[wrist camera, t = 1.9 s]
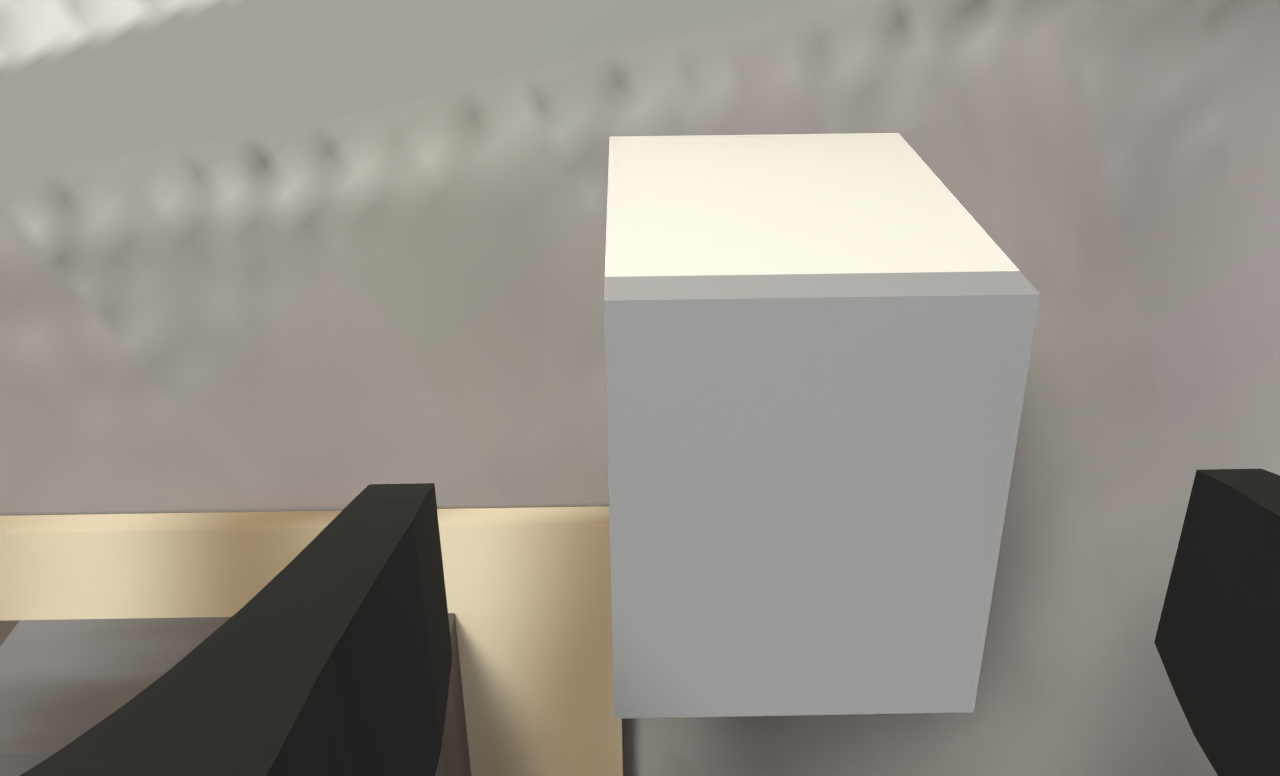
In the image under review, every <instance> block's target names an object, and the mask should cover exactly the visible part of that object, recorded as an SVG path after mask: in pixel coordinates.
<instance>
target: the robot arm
mask: <svg viewBox="0 0 1280 776" xmlns="http://www.w3.org/2000/svg"><path fill="white" fill-rule="evenodd" d="M1155 645H1156V647H1157V649H1158V652H1159V654H1160V657H1161V659H1162V662H1163V664H1164V667H1165V669H1166V672H1167V674H1168V677H1169V679H1170V681H1171V684H1172V686H1173V689H1174V691H1175V694H1176V696H1177V698H1178V700H1179V703H1180V705H1181V707H1182V709H1183V711H1184V714H1185V716H1186V718H1187V720H1188V722H1189V725H1190V727H1191V729H1192V731H1193V733H1194V736H1195V737H1196V739H1197V741H1198V742H1199V744H1200V746H1201V748H1202V749H1203V751H1204V753H1205V754H1206V756H1207V758H1208V760H1209V761H1210V763H1211V765H1212V766H1213V768H1214V770H1215V771H1216V773H1217V775H1218V776H1280V476H1279V475H1276V474H1274V473H1271V472H1268V471H1266V470H1263V469H1220V470H1197V471H1196V475H1195V479H1194V483H1193V488H1192V492H1191V496H1190V500H1189V504H1188V508H1187V512H1186V516H1185V520H1184V524H1183V528H1182V532H1181V536H1180V540H1179V544H1178V549H1177V553H1176V557H1175V561H1174V565H1173V569H1172V573H1171V577H1170V581H1169V585H1168V589H1167V593H1166V597H1165V601H1164V606H1163V610H1162V614H1161V618H1160V622H1159V626H1158V630H1157V634H1156V638H1155ZM451 665H452V646H451V637H450V628H449V618H448V609H447V599H446V590H445V580H444V571H443V562H442V552H441V543H440V533H439V524H438V515H437V505H436V496H435V486H434V483H428V484H372V485H368V486H367V487H366V488H365V489H364V490H363V491H362V492H361V493H360V494H359V495H358V496H357V497H356V498H355V499H354V500H353V501H352V502H351V503H350V504H349V505H348V506H347V507H346V508H344V509H343V510H342V511H341V512H340V513H339V514H338V515H337V516H336V517H335V518H334V519H333V520H332V521H331V522H330V523H329V524H328V525H327V526H326V527H325V528H324V529H323V530H322V531H321V532H320V533H319V534H318V535H317V536H316V537H315V538H314V539H313V540H312V541H311V542H310V543H309V544H308V545H307V546H306V547H305V548H304V549H303V550H302V551H301V552H300V553H299V554H298V555H297V556H296V557H295V558H294V559H293V560H292V561H291V562H290V563H289V564H288V565H287V566H286V567H285V568H284V569H283V570H282V571H281V572H280V573H279V574H277V575H276V576H275V577H274V578H273V579H272V580H271V581H270V582H269V583H268V584H267V585H266V586H265V587H264V588H263V589H262V590H261V591H259V592H258V593H257V594H256V595H255V596H254V597H253V598H252V599H251V600H250V601H249V602H248V603H247V604H246V605H245V606H244V607H243V608H241V609H240V610H239V611H238V612H237V613H236V614H234V615H233V616H232V617H231V618H230V619H228V620H227V621H226V622H225V623H224V624H223V625H221V626H220V627H219V628H218V629H217V630H216V631H214V632H213V633H212V634H211V635H210V636H209V637H207V638H206V639H205V640H204V641H203V642H202V643H200V644H199V645H198V646H197V647H196V648H195V649H193V650H192V651H191V652H190V653H189V654H188V655H186V656H185V657H184V658H183V659H182V660H181V661H179V662H178V663H177V664H176V665H175V666H173V667H172V668H171V669H170V670H169V671H167V672H166V673H165V674H164V675H162V676H161V677H160V678H159V679H157V680H156V681H155V682H153V683H152V684H151V685H150V686H148V687H147V688H146V689H144V690H143V691H142V692H140V693H139V694H138V695H136V696H135V697H134V698H132V699H131V700H130V701H128V702H127V703H126V704H124V705H123V706H122V707H120V708H119V709H118V710H116V711H115V712H113V713H112V714H111V715H109V716H108V717H106V718H105V719H103V720H102V721H101V722H99V723H98V724H96V725H95V726H94V727H92V728H91V729H89V730H88V731H86V732H85V733H84V734H82V735H81V736H79V737H78V738H77V739H75V740H74V741H72V742H71V743H69V744H68V745H67V746H65V747H64V748H62V749H61V750H59V751H58V752H56V753H55V754H53V755H52V756H50V757H49V758H47V759H46V760H44V761H43V762H41V763H39V764H38V765H36V766H34V767H33V768H31V769H30V770H28V771H26V772H25V773H23V774H21V775H20V776H435V774H436V770H437V765H438V761H439V757H440V753H441V747H442V739H443V732H444V724H445V716H446V708H447V700H448V691H449V682H450V673H451Z"/></svg>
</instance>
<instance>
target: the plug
mask: <svg viewBox="0 0 1280 776" xmlns="http://www.w3.org/2000/svg"><path fill="white" fill-rule="evenodd" d="M1039 300H1040V293H1039V292H1038V291H1037V290H1036V289H1035V288H1034V287H1033V285H1032V284H1031V283H1030V282H1029V281H1028V280H1027V279H1026V277H1025V276H1024V275H1023V274H1022V273H1021V272H1020V271H1019V269H1018V268H1017V267H1016V266H1015V265H1014V264H1013V263H1012V262H1011V260H1010V259H1009V258H1008V257H1007V256H1006V255H1005V254H1004V252H1003V251H1002V250H1001V249H1000V248H999V247H998V246H997V244H996V243H995V242H994V241H993V240H992V239H991V238H990V237H989V235H988V234H987V233H986V232H985V231H984V230H983V229H982V227H981V226H980V225H979V224H978V223H977V222H976V221H975V219H974V218H973V217H972V216H971V215H970V214H969V213H968V211H967V210H966V209H965V208H964V207H963V206H962V205H961V204H960V202H959V201H958V200H957V199H956V198H955V197H954V196H953V194H952V193H951V192H950V191H949V190H948V189H947V188H946V186H945V185H944V184H943V183H942V182H941V181H940V180H939V178H938V177H937V176H936V175H935V174H934V173H933V172H932V171H931V169H930V168H929V167H928V166H927V165H926V164H925V163H924V161H923V160H922V159H921V158H920V157H919V156H918V155H917V153H916V152H915V151H914V150H913V149H912V148H911V147H910V146H909V144H908V143H907V142H906V141H905V140H904V139H903V138H902V136H901V135H900V134H899V133H863V134H784V135H704V136H625V137H610V143H609V171H608V200H607V228H606V256H605V285H604V323H605V362H606V402H607V442H608V482H609V522H610V561H611V601H612V641H613V681H614V719H623V718H680V717H737V716H794V715H851V714H908V713H964V712H974V707H975V701H976V695H977V689H978V682H979V676H980V670H981V664H982V657H983V651H984V645H985V638H986V632H987V626H988V620H989V613H990V607H991V601H992V595H993V588H994V582H995V576H996V570H997V563H998V557H999V551H1000V544H1001V538H1002V532H1003V526H1004V519H1005V513H1006V507H1007V501H1008V494H1009V488H1010V482H1011V476H1012V469H1013V463H1014V457H1015V450H1016V444H1017V438H1018V432H1019V425H1020V419H1021V413H1022V407H1023V400H1024V394H1025V388H1026V382H1027V375H1028V369H1029V363H1030V356H1031V350H1032V344H1033V338H1034V331H1035V325H1036V319H1037V313H1038V306H1039Z"/></svg>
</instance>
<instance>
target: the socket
mask: <svg viewBox="0 0 1280 776" xmlns="http://www.w3.org/2000/svg"><path fill="white" fill-rule="evenodd" d="M340 512H341V511H286V512H221V513H156V514H92V515H27V516H0V776H20V775H21V774H23V773H25V772H26V771H28V770H30V769H31V768H33V767H34V766H36V765H38V764H39V763H41V762H43V761H44V760H46V759H47V758H49V757H50V756H52V755H53V754H55V753H56V752H58V751H59V750H61V749H62V748H64V747H65V746H67V745H68V744H69V743H71V742H72V741H74V740H75V739H77V738H78V737H79V736H81V735H82V734H84V733H85V732H86V731H88V730H89V729H91V728H92V727H94V726H95V725H96V724H98V723H99V722H101V721H102V720H103V719H105V718H106V717H108V716H109V715H111V714H112V713H113V712H115V711H116V710H118V709H119V708H120V707H122V706H123V705H124V704H126V703H127V702H128V701H130V700H131V699H132V698H134V697H135V696H136V695H138V694H139V693H140V692H142V691H143V690H144V689H146V688H147V687H148V686H150V685H151V684H152V683H153V682H155V681H156V680H157V679H159V678H160V677H161V676H162V675H164V674H165V673H166V672H167V671H169V670H170V669H171V668H172V667H173V666H175V665H176V664H177V663H178V662H179V661H181V660H182V659H183V658H184V657H185V656H186V655H188V654H189V653H190V652H191V651H192V650H193V649H195V648H196V647H197V646H198V645H199V644H200V643H202V642H203V641H204V640H205V639H206V638H207V637H209V636H210V635H211V634H212V633H213V632H214V631H216V630H217V629H218V628H219V627H220V626H221V625H223V624H224V623H225V622H226V621H227V620H228V619H230V618H231V617H232V616H233V615H234V614H236V613H237V612H238V611H239V610H240V609H241V608H243V607H244V606H245V605H246V604H247V603H248V602H249V601H250V600H251V599H252V598H253V597H254V596H255V595H256V594H257V593H258V592H259V591H261V590H262V589H263V588H264V587H265V586H266V585H267V584H268V583H269V582H270V581H271V580H272V579H273V578H274V577H275V576H276V575H277V574H279V573H280V572H281V571H282V570H283V569H284V568H285V567H286V566H287V565H288V564H289V563H290V562H291V561H292V560H293V559H294V558H295V557H296V556H297V555H298V554H299V553H300V552H301V551H302V550H303V549H304V548H305V547H306V546H307V545H308V544H309V543H310V542H311V541H312V540H313V539H314V538H315V537H316V536H317V535H318V534H319V533H320V532H321V531H322V530H323V529H324V528H325V527H326V526H327V525H328V524H329V523H330V522H331V521H332V520H333V519H334V518H335V517H336V516H337V515H338V514H339V513H340ZM437 515H438V524H439V533H440V543H441V552H442V562H443V571H444V580H445V590H446V599H447V609H448V618H449V628H450V637H451V646H452V665H451V673H450V682H449V691H448V700H447V708H446V716H445V724H444V732H443V739H442V747H441V753H440V757H439V761H438V765H437V770H436V774H435V776H623V739H622V719H614V681H613V641H612V601H611V561H610V522H609V506H608V507H544V508H479V509H437Z"/></svg>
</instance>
